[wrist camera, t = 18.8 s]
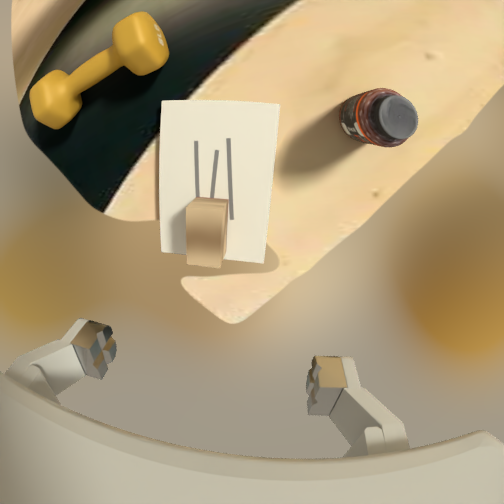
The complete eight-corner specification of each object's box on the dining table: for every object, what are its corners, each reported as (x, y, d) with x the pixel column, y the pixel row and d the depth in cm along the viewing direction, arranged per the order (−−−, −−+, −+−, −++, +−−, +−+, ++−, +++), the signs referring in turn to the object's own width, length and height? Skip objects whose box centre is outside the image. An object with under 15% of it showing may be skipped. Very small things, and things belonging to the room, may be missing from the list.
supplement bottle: (340, 142, 31) (370, 150, 21) (335, 95, 29) (362, 82, 19) (385, 141, 31) (429, 151, 20) (380, 95, 28) (423, 86, 18)
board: (166, 101, 31) (161, 100, 29) (280, 105, 30) (280, 104, 29) (164, 247, 39) (161, 252, 38) (264, 258, 39) (263, 263, 37)
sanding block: (196, 196, 34) (185, 207, 30) (228, 199, 34) (222, 210, 30) (196, 248, 37) (186, 264, 33) (226, 251, 37) (219, 268, 33)
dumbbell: (70, 131, 33) (33, 137, 25) (57, 82, 29) (21, 81, 22) (180, 70, 29) (154, 57, 22) (163, 17, 25) (136, -4, 18)
